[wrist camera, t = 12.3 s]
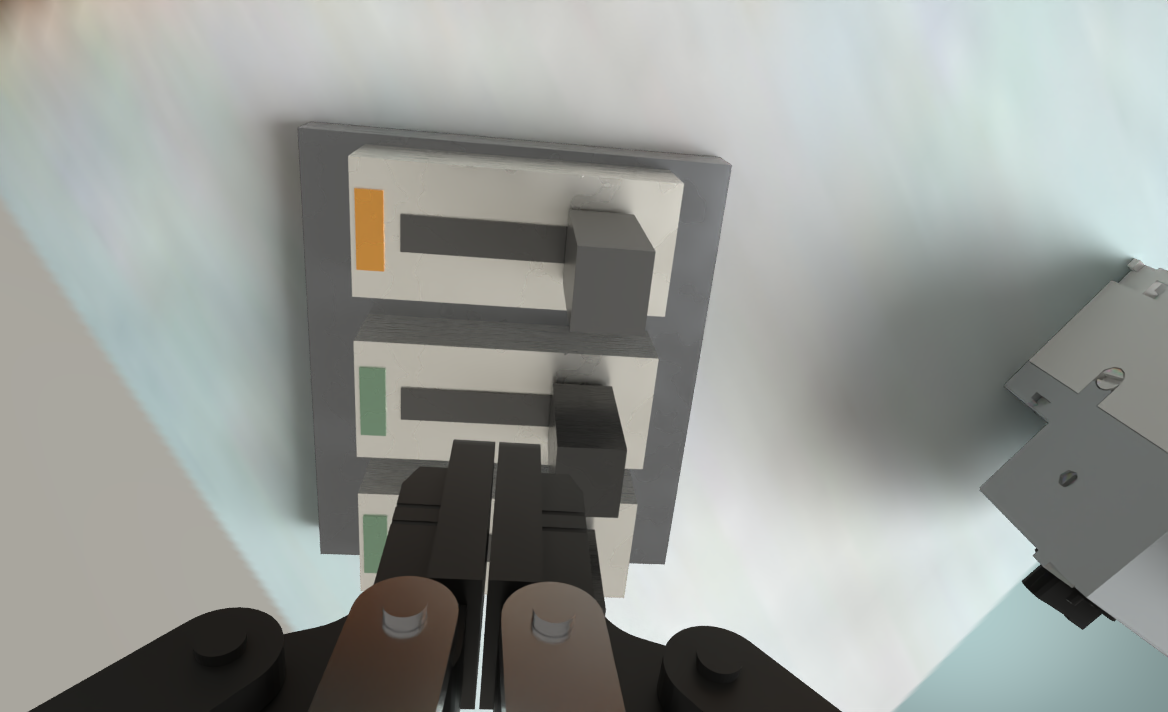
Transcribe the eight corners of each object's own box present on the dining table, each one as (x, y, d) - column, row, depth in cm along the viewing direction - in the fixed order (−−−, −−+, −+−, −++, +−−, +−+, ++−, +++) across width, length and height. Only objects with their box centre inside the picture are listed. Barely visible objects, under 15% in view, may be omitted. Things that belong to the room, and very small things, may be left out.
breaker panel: (311, 121, 30) (214, 162, 21) (720, 157, 32) (800, 210, 23) (330, 528, 38) (266, 691, 29) (658, 539, 40) (698, 697, 30)
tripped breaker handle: (569, 209, 27) (577, 245, 23) (634, 214, 27) (656, 251, 23) (562, 282, 28) (569, 331, 24) (625, 287, 29) (644, 336, 24)
